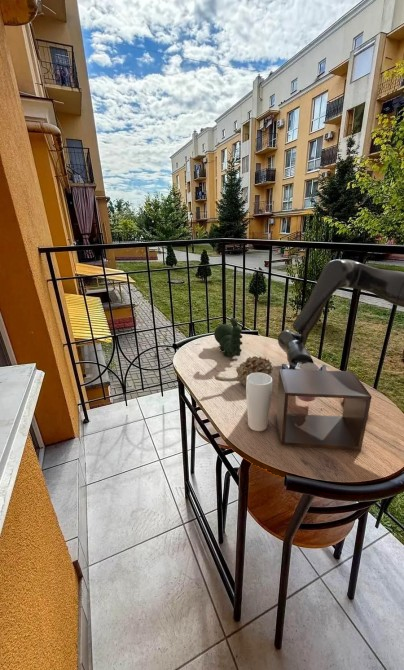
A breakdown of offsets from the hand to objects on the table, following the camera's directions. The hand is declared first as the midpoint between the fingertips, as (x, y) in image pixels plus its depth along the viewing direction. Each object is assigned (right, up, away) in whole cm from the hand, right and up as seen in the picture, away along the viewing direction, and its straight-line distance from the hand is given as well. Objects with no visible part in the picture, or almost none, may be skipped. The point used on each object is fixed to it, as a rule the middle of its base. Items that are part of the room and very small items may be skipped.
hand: (309, 383), depth 81 cm
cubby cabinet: (-1, -12, -6) cm, 13 cm away
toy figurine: (-19, +7, +46) cm, 50 cm away
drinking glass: (-16, -11, -3) cm, 20 cm away
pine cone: (-17, -4, +18) cm, 25 cm away
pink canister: (+1, -5, +4) cm, 7 cm away
